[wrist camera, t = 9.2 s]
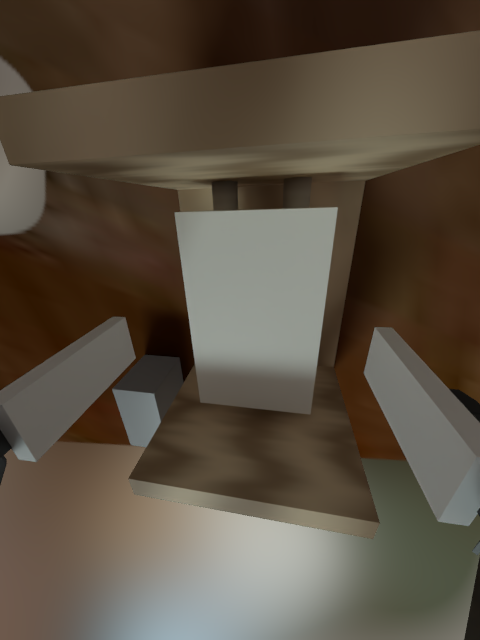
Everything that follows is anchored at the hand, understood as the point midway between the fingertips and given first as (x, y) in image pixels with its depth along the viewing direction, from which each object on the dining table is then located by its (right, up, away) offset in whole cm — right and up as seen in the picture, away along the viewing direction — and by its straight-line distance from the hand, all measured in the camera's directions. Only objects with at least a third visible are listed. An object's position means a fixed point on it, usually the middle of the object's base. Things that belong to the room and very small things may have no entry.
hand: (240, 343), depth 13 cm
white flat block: (+1, +2, +4) cm, 5 cm away
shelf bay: (+2, +5, +9) cm, 11 cm away
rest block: (-9, -7, +17) cm, 20 cm away
